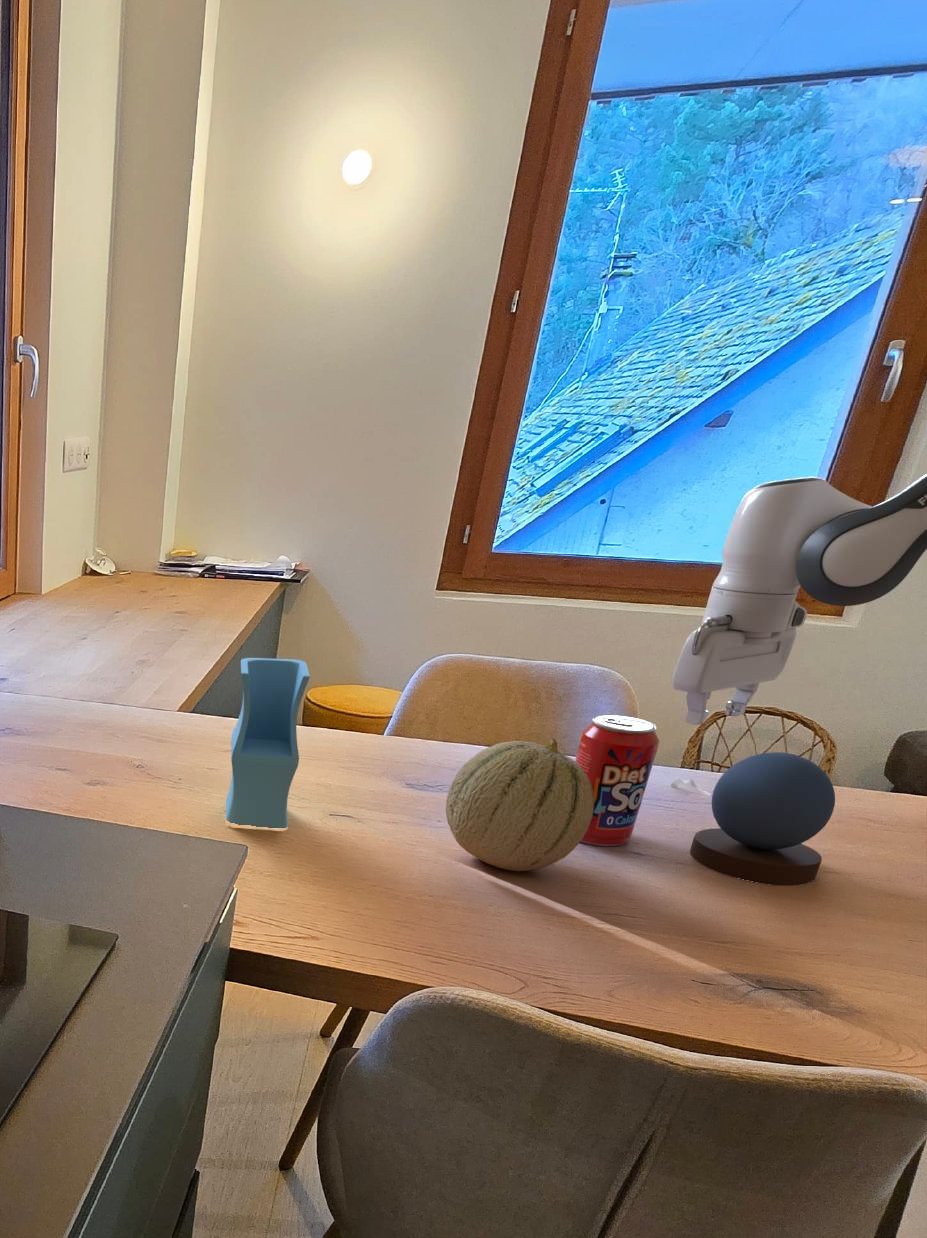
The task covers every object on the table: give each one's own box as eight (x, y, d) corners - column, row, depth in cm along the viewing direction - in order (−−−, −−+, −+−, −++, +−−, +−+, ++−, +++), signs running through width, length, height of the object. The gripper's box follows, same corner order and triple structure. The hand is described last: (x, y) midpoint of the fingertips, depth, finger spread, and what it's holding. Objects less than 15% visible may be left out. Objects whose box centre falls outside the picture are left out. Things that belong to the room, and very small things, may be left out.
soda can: (563, 821, 131) (593, 708, 125) (633, 836, 127) (668, 720, 120) (549, 841, 126) (580, 724, 119) (622, 857, 121) (658, 737, 115)
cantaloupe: (411, 860, 120) (435, 738, 113) (473, 828, 128) (499, 713, 121) (539, 905, 109) (574, 774, 103) (598, 867, 118) (634, 743, 111)
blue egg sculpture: (835, 874, 116) (877, 760, 111) (781, 894, 111) (822, 776, 106) (722, 841, 126) (755, 735, 121) (667, 858, 121) (699, 748, 116)
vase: (224, 827, 129) (240, 673, 121) (224, 804, 136) (240, 656, 128) (288, 832, 128) (310, 676, 119) (285, 809, 135) (305, 659, 126)
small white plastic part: (692, 811, 137) (699, 789, 135) (664, 794, 142) (670, 774, 141) (718, 811, 137) (726, 789, 135) (690, 794, 142) (696, 773, 141)
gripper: (729, 622, 122) (696, 734, 128) (814, 611, 132) (779, 716, 137) (675, 614, 127) (645, 722, 133) (760, 605, 137) (729, 706, 142)
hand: (714, 719), depth 135 cm, fingers open, 8 cm apart
